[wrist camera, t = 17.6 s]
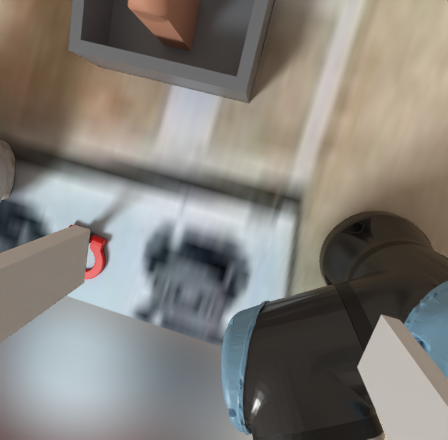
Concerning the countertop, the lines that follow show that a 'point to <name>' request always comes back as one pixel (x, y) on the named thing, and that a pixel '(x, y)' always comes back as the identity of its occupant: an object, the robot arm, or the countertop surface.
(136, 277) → the countertop surface
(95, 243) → the tow hook
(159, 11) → the wooden peg
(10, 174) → the ceramic pitcher
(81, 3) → the open box
